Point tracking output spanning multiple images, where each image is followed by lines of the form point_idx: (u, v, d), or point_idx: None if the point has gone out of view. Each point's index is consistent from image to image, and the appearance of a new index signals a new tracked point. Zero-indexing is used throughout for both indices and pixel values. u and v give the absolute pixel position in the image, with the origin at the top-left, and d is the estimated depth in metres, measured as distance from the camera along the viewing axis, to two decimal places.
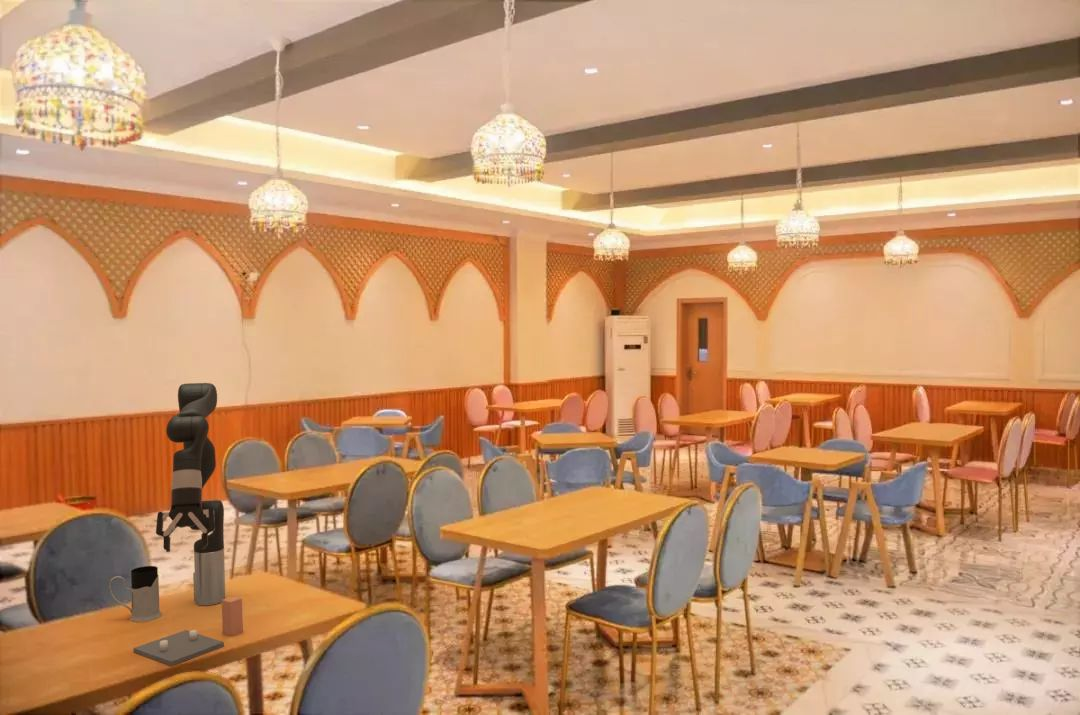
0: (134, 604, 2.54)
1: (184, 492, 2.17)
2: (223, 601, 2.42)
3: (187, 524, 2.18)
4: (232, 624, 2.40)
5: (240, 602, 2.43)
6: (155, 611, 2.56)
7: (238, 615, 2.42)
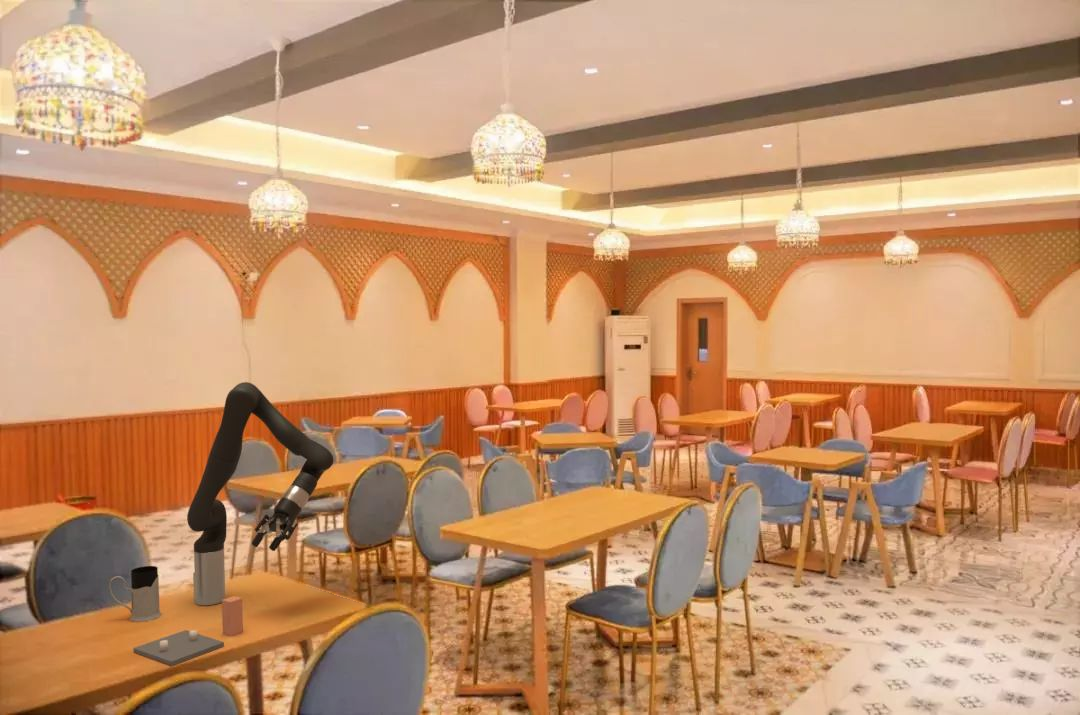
0: (134, 604, 2.54)
1: None
2: (223, 601, 2.42)
3: None
4: (232, 624, 2.40)
5: (240, 602, 2.43)
6: (155, 611, 2.56)
7: (238, 615, 2.42)
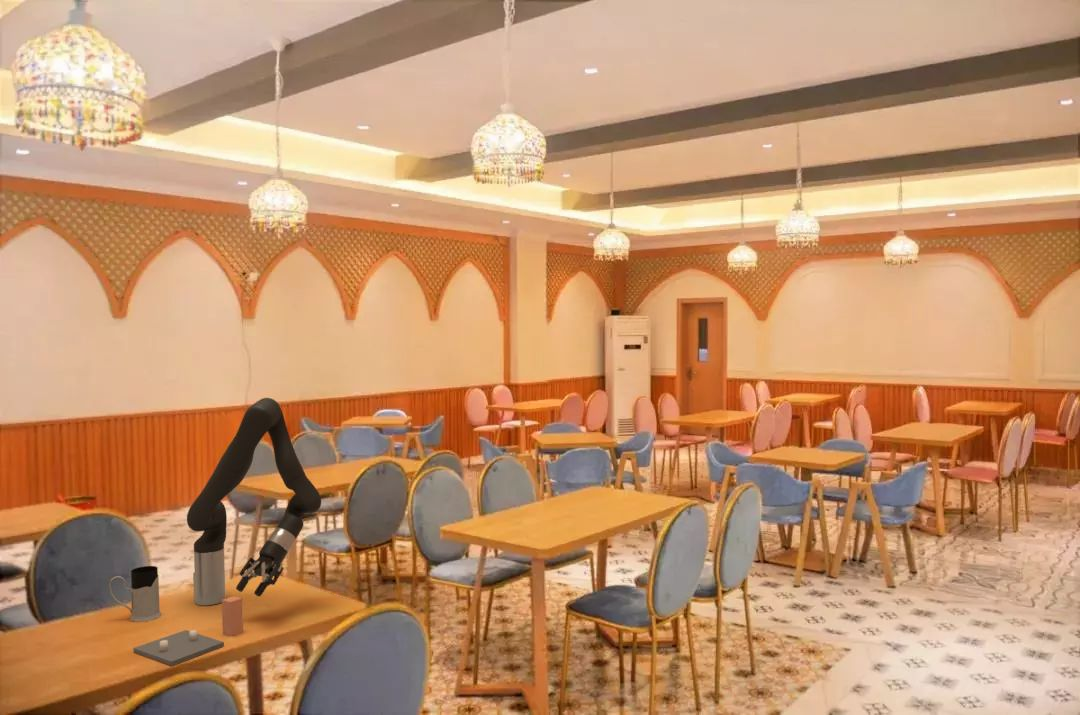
0: (134, 604, 2.54)
1: None
2: (223, 601, 2.42)
3: None
4: (232, 624, 2.40)
5: (240, 602, 2.43)
6: (155, 611, 2.56)
7: (238, 615, 2.42)
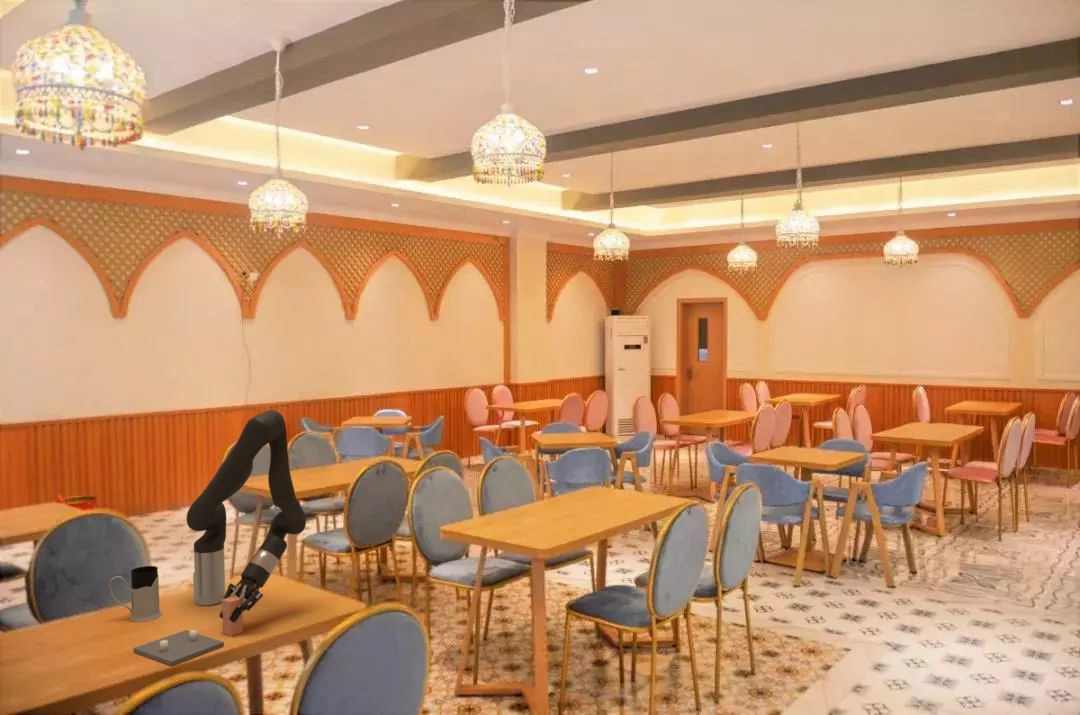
0: (134, 604, 2.54)
1: None
2: (223, 601, 2.42)
3: None
4: (232, 624, 2.40)
5: None
6: (155, 611, 2.56)
7: None
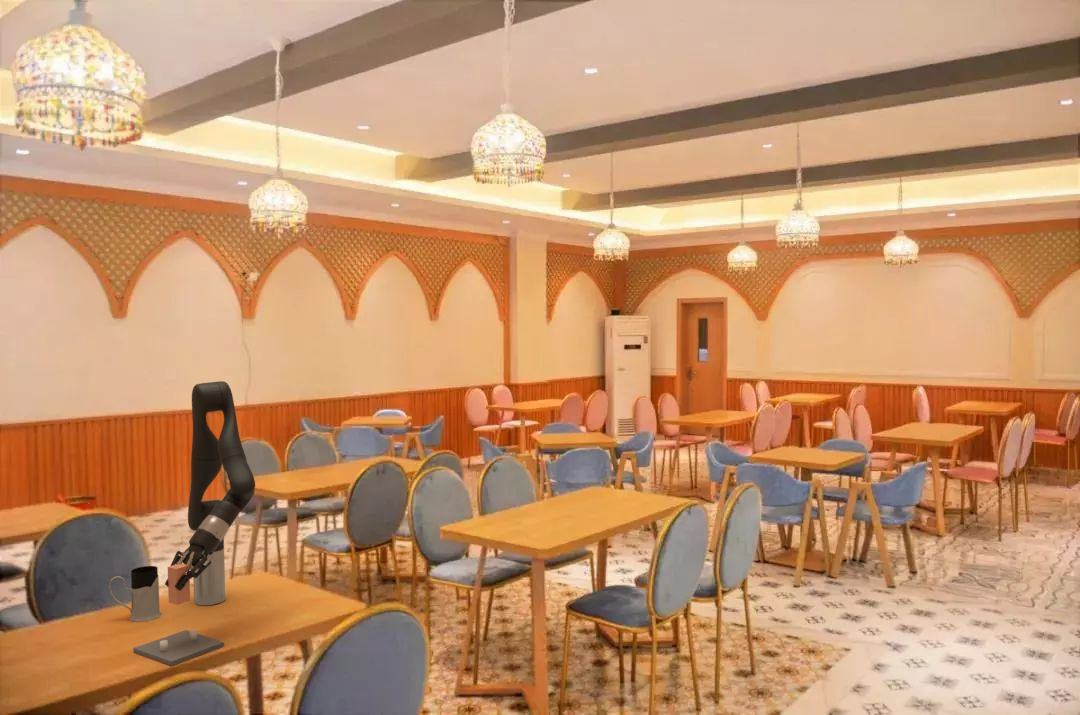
0: (134, 604, 2.54)
1: None
2: (169, 568, 2.29)
3: None
4: (178, 592, 2.28)
5: None
6: (155, 611, 2.56)
7: None
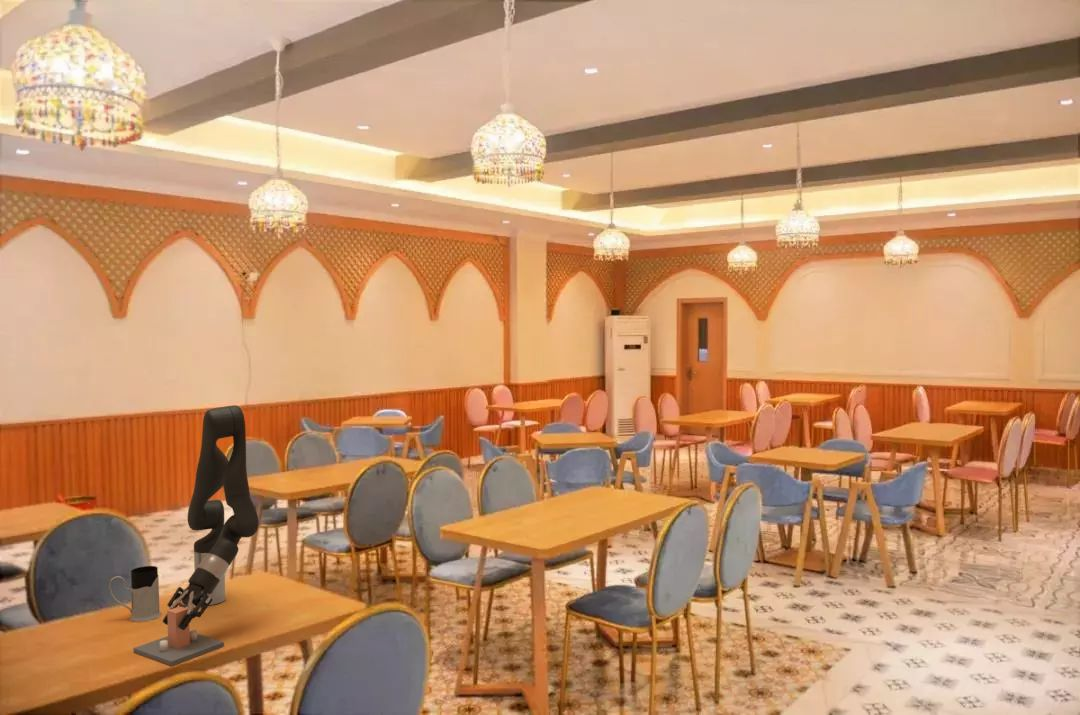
0: (134, 604, 2.54)
1: None
2: (168, 612, 2.29)
3: None
4: (177, 636, 2.28)
5: (186, 613, 2.30)
6: (155, 611, 2.56)
7: None
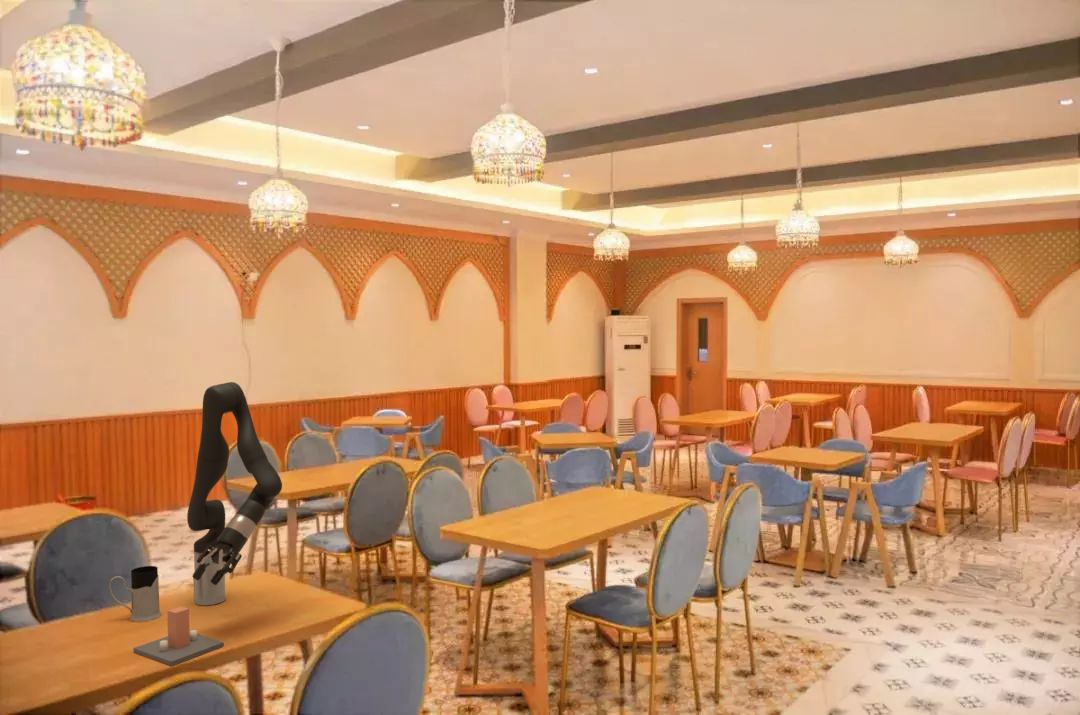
0: (134, 604, 2.54)
1: None
2: (168, 612, 2.29)
3: None
4: (177, 636, 2.28)
5: (186, 613, 2.30)
6: (155, 611, 2.56)
7: (184, 627, 2.30)
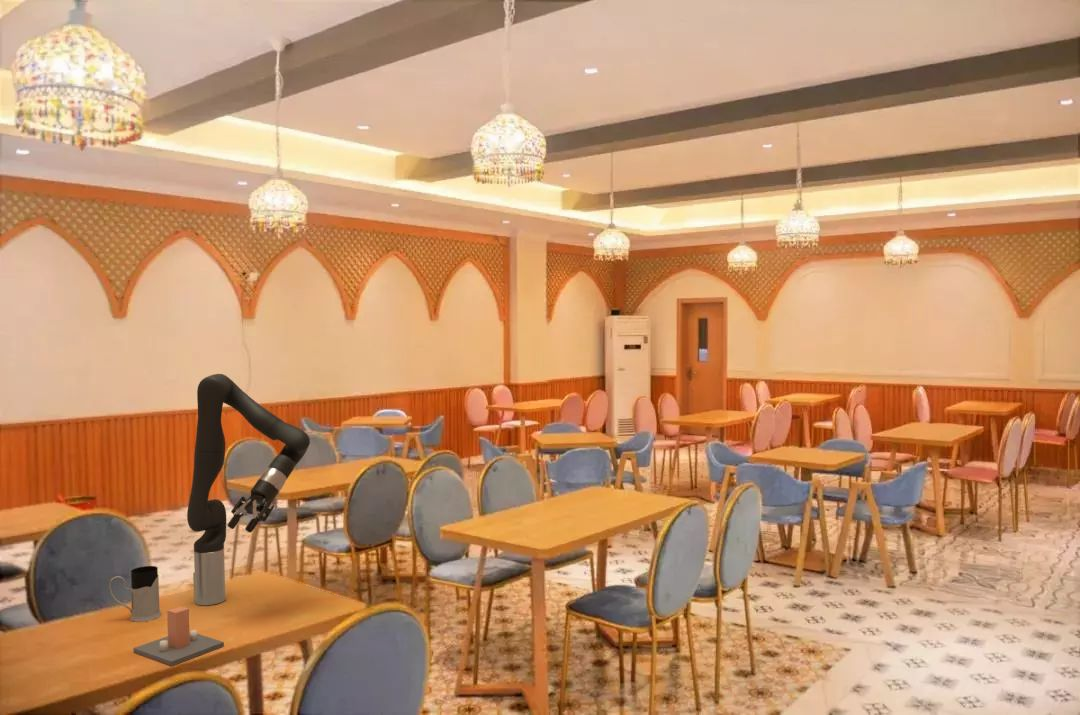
0: (134, 604, 2.54)
1: None
2: (168, 612, 2.29)
3: None
4: (177, 636, 2.28)
5: (186, 613, 2.30)
6: (155, 611, 2.56)
7: (184, 627, 2.30)
